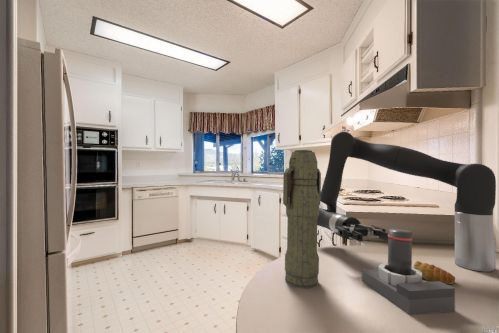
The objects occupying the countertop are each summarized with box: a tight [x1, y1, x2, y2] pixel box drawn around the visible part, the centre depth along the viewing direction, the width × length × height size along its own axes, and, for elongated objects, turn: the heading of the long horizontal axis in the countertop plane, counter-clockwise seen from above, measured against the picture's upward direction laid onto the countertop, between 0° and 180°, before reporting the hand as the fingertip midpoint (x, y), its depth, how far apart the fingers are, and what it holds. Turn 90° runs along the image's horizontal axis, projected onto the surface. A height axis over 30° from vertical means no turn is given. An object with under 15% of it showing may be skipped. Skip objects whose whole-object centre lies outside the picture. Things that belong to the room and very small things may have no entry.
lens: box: [387, 228, 413, 275], centre depth 61 cm, size 5×5×12 cm
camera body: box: [361, 262, 456, 315], centre depth 59 cm, size 11×16×6 cm
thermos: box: [282, 149, 322, 289], centre depth 66 cm, size 9×12×35 cm
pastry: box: [412, 261, 456, 285], centre depth 69 cm, size 9×7×4 cm
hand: (375, 237), depth 69 cm, fingers open, 8 cm apart
